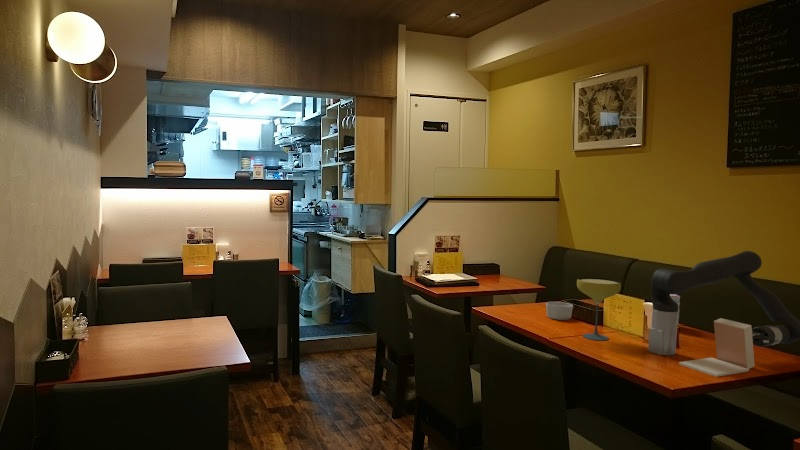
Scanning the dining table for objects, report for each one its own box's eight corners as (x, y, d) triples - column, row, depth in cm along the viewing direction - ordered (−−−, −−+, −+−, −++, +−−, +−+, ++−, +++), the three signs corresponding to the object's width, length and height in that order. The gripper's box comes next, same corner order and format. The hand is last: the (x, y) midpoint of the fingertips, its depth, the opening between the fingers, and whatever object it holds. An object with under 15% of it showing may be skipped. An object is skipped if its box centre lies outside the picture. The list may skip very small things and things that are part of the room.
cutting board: (716, 376, 200) (716, 374, 200) (679, 364, 214) (679, 362, 214) (749, 371, 208) (749, 369, 208) (711, 359, 222) (711, 357, 221)
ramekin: (551, 313, 296) (551, 300, 295) (576, 317, 288) (577, 304, 288) (541, 317, 285) (541, 304, 285) (567, 322, 277) (567, 308, 277)
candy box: (678, 331, 266) (681, 296, 265) (665, 330, 267) (667, 295, 266) (670, 324, 280) (673, 291, 278) (658, 323, 281) (660, 290, 280)
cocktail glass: (594, 344, 237) (597, 284, 236) (565, 333, 254) (568, 277, 252) (627, 341, 245) (630, 283, 243) (596, 330, 261) (599, 276, 260)
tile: (747, 369, 210) (743, 328, 207) (716, 360, 221) (713, 321, 218) (754, 366, 212) (751, 325, 209) (723, 356, 222) (720, 318, 220)
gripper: (750, 322, 229) (721, 325, 221) (784, 330, 217) (755, 333, 210) (748, 340, 229) (720, 344, 222) (782, 349, 218) (753, 354, 210)
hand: (737, 339), depth 216 cm, fingers closed
